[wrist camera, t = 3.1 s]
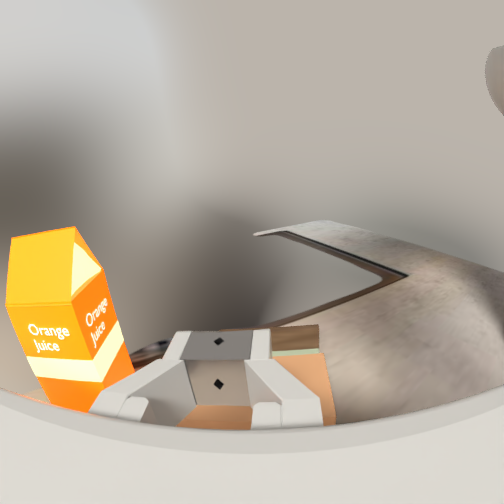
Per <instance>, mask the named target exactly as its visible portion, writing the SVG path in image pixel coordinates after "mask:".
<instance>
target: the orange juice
mask: <svg viewBox="0 0 504 504" xmlns="http://www.w3.org/2000/svg"><path fill="white" fill-rule="evenodd" d="M6 295H7V296H6V304H5V305H6V308H7V311H8V313H9V316H10V319H11V321H12V324H13V326H14V329H15V331H16V334H17V336H18V338H19V341H20V343H21V345H22V347H23V349H24V352H25V354H26V357H27V359H28V361H29V363H30V365H31V367H32V370H33V371H34V373H35V375H36V376H37V378H38V380H39V382H40V384H41V386H42V388H43V390H44V391H45V393H46V395H47V397H48V398H49V400H50V402H51V404H53V405H57V406H60V407H64V408H68V409H72V410H77V411H81V412H85V413H88V411H89V409H90V408H91V406H92V405H93V403H94V402H95V400H96V398H97V397H98V395H99V394H100V392H101V391H102V390H104V389H106V388H108V387H109V386H111V385H113V384H115V383H117V382H118V381H120V380H122V379H124V378H126V377H127V376H129V375H131V374H133V373H135V371H134V368H133V366H132V363H131V360H130V357H129V354H128V351H127V349H126V346H125V343H124V338H123V335H122V332H121V329H120V326H119V323H118V321H117V317H116V314H115V311H114V307H113V304H112V300H111V297H110V293H109V290H108V286H107V282H106V278H105V274H104V270H103V268H102V267H101V266H100V264H99V263H98V261H97V260H96V258H95V257H94V255H93V254H92V252H91V251H90V249H89V248H88V246H87V245H86V243H85V242H84V240H83V239H82V237H81V236H80V234H79V233H78V231H77V229H76V228H75V227H68V228H63V229H58V230H52V231H46V232H40V233H35V234H30V235H25V236H20V237H15V238H12V242H11V249H10V258H9V267H8V279H7V294H6Z"/></svg>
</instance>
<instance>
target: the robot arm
mask: <svg viewBox="0 0 504 504" xmlns="http://www.w3.org/2000/svg"><path fill="white" fill-rule="evenodd" d="M485 76H486V77H485V78H486V84H487V88H488V91H489V94H490V96H491V98H492V100H493V102H494V104H495V105H496V107H497V108H498V109H499V111H500V112H501V113H502V114H503V115H504V46H500V47H497V48H493V49H492V50H491V52H490V54H489V56H488V58H487V61H486V68H485ZM196 405H228V406H251V408H252V410H253V414H252V423H251V430H226V429H202V428H187V427H175V426H176V425H177V424H179V423H180V422H181V421H182V420H183V419H184V418H185V417H186V416H187V415H188V414H189V413H190V412H191V411H192V410H193V409H194V408H196V407H197V406H196ZM0 504H504V384H503V385H500V386H498V387H495V388H492V389H489V390H487V391H484V392H481V393H478V394H475V395H472V396H469V397H465V398H462V399H459V400H456V401H452V402H449V403H445V404H442V405H438V406H434V407H430V408H426V409H422V410H418V411H413V412H409V413H404V414H400V415H395V416H389V417H384V418H379V419H373V420H367V421H360V422H353V423H346V424H338V425H329V426H324V425H323V418H322V411H321V404H320V398H319V397H318V396H317V395H315V394H314V393H313V392H312V391H311V390H309V389H308V388H307V387H306V386H305V385H304V384H302V383H301V382H300V381H299V380H298V379H297V378H295V377H294V376H293V375H292V374H291V373H290V372H289V371H287V370H286V369H285V368H284V367H283V366H282V365H281V364H279V363H278V362H277V361H276V360H275V359H273V356H272V342H271V331H270V329H259V330H244V331H226V332H223V331H193V332H192V331H178V332H176V334H175V335H174V337H173V339H172V341H171V343H170V345H169V347H168V349H167V351H166V353H165V355H164V357H163V359H157V360H156V361H154V362H152V363H150V364H149V365H147V366H145V367H143V368H142V369H140V370H138V371H136V372H135V373H133V374H131V375H129V376H127V377H126V378H124V379H122V380H120V381H118V382H117V383H115V384H113V385H111V386H109V387H108V388H106V389H104V390H102V391H101V392H100V394H99V395H98V397H97V398H96V400H95V402H94V403H93V405H92V406H91V408H90V409H89V411H88V413H85V412H81V411H77V410H72V409H68V408H64V407H60V406H57V405H53V404H49V403H46V402H42V401H39V400H36V399H32V398H29V397H26V396H23V395H20V394H17V393H14V392H11V391H8V390H6V389H3V388H0Z"/></svg>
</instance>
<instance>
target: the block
mask: <svg viewBox="0 0 504 504" xmlns="http://www.w3.org/2000/svg"><path fill="white" fill-rule="evenodd" d="M273 359H275V360H276V361H277V362H278V363H279V364H281V365H282V366H283V367H284V368H285V369H286V370H287V371H289V372H290V373H291V374H292V375H293V376H294V377H295V378H297V379H298V380H299V381H300V382H301V383H302V384H304V385H305V386H306V387H307V388H308V389H309V390H311V391H312V392H313V393H314V394H315V395H317V396H318V397H319V398H320V404H321V411H322V418H323V425H324V426H329V425H335V423H336V412H335V407H334V402H333V396H332V391H331V386H330V382H329V377H328V372H327V367H326V362H325V358H324V353H317V354H305V355H290V356H273ZM196 406H197V407H196V408H194V409H193V410H192V411H191V412H190V413H189V414H188V415H187V416H186V417H185V418H184V419H183V420H182V421H181V422H180V423H179V424H177V425H176V427H187V428H202V429H226V430H251V423H252V414H253V410H252V408H251V406H228V405H196Z"/></svg>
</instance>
